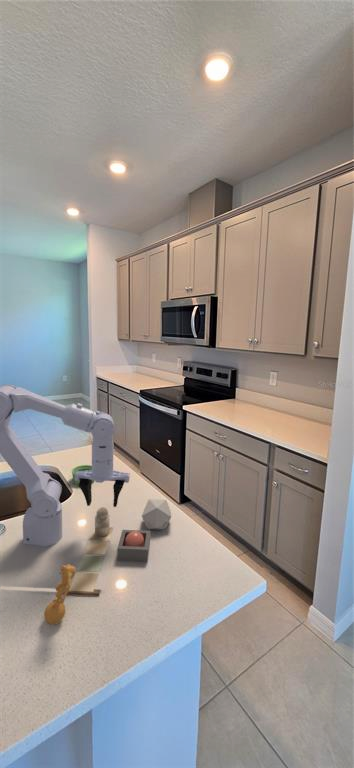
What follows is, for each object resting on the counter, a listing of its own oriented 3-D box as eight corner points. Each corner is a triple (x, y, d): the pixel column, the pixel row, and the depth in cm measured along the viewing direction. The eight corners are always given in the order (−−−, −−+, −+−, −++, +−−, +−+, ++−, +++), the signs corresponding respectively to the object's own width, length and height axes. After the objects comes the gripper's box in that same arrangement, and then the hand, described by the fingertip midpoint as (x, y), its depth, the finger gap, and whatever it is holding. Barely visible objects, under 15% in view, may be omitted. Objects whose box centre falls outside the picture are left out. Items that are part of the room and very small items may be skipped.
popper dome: (123, 556, 83) (123, 538, 83) (126, 543, 88) (126, 526, 87) (143, 557, 83) (143, 539, 83) (144, 544, 88) (145, 527, 87)
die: (159, 542, 92) (179, 511, 94) (133, 524, 93) (153, 493, 94) (160, 534, 100) (178, 505, 102) (135, 517, 101) (154, 489, 103)
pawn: (93, 537, 91) (93, 511, 89) (96, 528, 95) (96, 504, 93) (107, 537, 91) (108, 512, 89) (110, 528, 95) (110, 504, 93)
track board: (62, 594, 72) (62, 591, 72) (90, 528, 96) (90, 525, 96) (98, 595, 72) (98, 592, 72) (118, 529, 96) (118, 526, 96)
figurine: (45, 606, 69) (43, 555, 67) (75, 599, 71) (74, 549, 69) (43, 642, 61) (41, 585, 59) (77, 633, 63) (76, 578, 61)
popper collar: (116, 563, 82) (116, 549, 81) (121, 542, 90) (121, 529, 89) (148, 565, 82) (148, 550, 81) (150, 544, 90) (151, 530, 89)
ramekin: (67, 484, 121) (66, 473, 120) (79, 474, 130) (79, 463, 129) (89, 488, 119) (89, 476, 118) (100, 477, 128) (100, 466, 127)
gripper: (71, 463, 85) (71, 511, 87) (127, 465, 85) (126, 513, 87) (79, 452, 92) (79, 497, 94) (131, 455, 92) (130, 499, 94)
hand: (102, 504), depth 91 cm, fingers open, 7 cm apart
